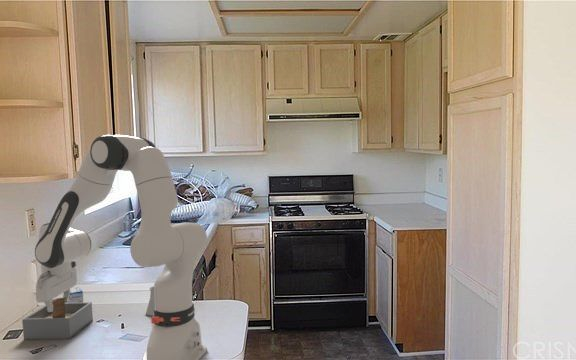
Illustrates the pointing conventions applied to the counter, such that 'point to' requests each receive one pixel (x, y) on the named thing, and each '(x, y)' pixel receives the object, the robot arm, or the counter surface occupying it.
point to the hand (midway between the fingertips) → (58, 306)
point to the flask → (151, 303)
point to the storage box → (57, 322)
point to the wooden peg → (59, 308)
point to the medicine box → (76, 295)
